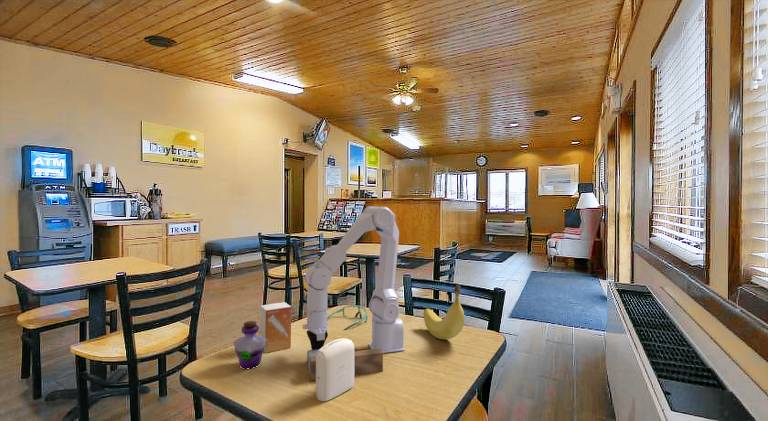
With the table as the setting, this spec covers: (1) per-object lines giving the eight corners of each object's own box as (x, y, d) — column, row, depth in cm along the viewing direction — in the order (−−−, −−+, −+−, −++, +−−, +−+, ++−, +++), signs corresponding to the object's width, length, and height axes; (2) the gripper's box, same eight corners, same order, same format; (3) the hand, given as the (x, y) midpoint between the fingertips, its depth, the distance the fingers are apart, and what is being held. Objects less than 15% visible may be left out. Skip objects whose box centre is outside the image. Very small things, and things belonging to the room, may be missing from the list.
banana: (418, 328, 135) (419, 273, 135) (432, 326, 137) (433, 272, 137) (452, 352, 114) (453, 286, 114) (468, 349, 116) (469, 285, 116)
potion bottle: (233, 374, 98) (233, 328, 98) (233, 361, 106) (233, 318, 106) (267, 369, 102) (267, 325, 101) (265, 356, 110) (265, 315, 109)
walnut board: (379, 366, 104) (379, 348, 104) (382, 371, 101) (382, 352, 101) (309, 375, 98) (309, 356, 98) (311, 380, 95) (311, 361, 95)
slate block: (328, 361, 107) (329, 348, 107) (333, 372, 100) (333, 357, 100) (307, 364, 105) (307, 350, 105) (310, 375, 98) (310, 360, 98)
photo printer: (325, 404, 85) (325, 349, 84) (312, 397, 87) (313, 344, 87) (357, 387, 92) (357, 337, 92) (344, 381, 95) (345, 333, 95)
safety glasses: (374, 321, 143) (373, 308, 143) (347, 336, 132) (346, 322, 131) (347, 314, 152) (346, 302, 151) (319, 327, 140) (319, 314, 140)
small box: (265, 353, 112) (265, 310, 111) (259, 346, 117) (259, 305, 117) (291, 348, 116) (291, 306, 116) (284, 341, 122) (284, 301, 121)
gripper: (300, 303, 112) (300, 348, 113) (305, 318, 99) (305, 369, 99) (323, 301, 115) (323, 345, 115) (332, 315, 101) (332, 365, 101)
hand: (316, 356), depth 107 cm, fingers closed
